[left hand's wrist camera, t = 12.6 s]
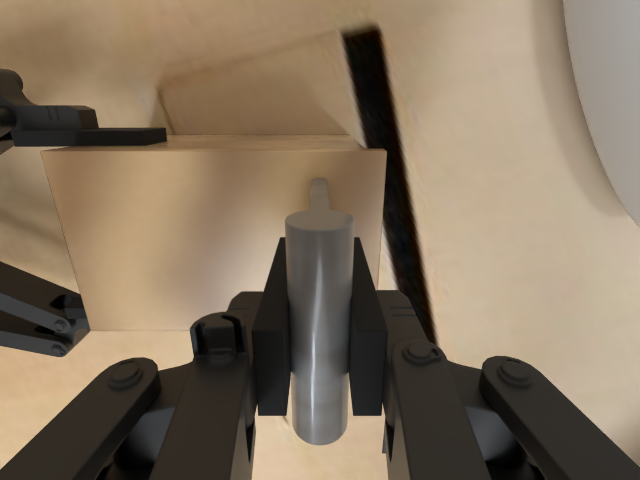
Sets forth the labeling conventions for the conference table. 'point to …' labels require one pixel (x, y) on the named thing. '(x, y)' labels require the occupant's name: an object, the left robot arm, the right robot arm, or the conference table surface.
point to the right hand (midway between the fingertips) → (170, 226)
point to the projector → (610, 87)
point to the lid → (226, 246)
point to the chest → (245, 142)
